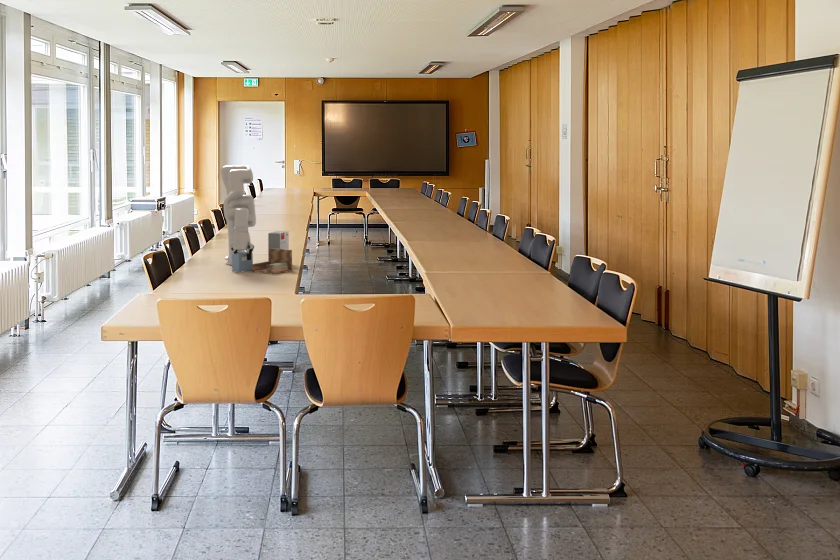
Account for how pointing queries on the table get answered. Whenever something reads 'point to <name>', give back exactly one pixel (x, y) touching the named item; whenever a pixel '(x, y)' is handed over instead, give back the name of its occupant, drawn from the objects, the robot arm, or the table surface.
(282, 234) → the hard drive box
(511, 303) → the table surface
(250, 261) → the book
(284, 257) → the shelf
